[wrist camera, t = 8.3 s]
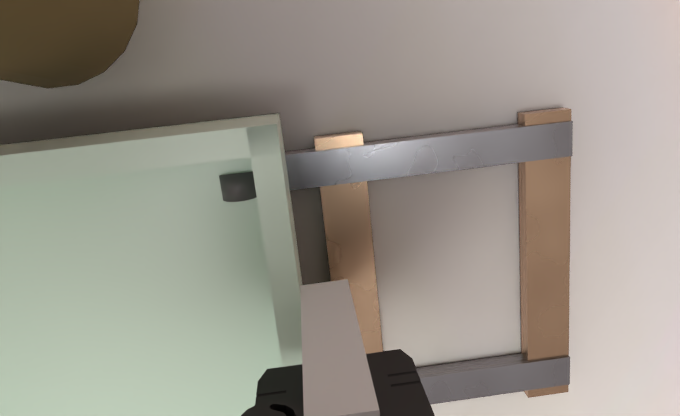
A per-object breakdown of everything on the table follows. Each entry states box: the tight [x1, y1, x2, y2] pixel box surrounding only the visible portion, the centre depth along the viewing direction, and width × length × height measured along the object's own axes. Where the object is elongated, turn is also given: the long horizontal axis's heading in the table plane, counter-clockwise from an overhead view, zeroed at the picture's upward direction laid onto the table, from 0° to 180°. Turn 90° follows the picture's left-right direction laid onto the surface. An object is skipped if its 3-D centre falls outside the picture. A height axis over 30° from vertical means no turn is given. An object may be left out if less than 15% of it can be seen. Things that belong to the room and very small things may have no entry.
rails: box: [285, 107, 572, 404], centre depth 19 cm, size 11×23×1 cm, turn 96°
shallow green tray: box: [0, 113, 302, 416], centre depth 17 cm, size 13×13×3 cm
